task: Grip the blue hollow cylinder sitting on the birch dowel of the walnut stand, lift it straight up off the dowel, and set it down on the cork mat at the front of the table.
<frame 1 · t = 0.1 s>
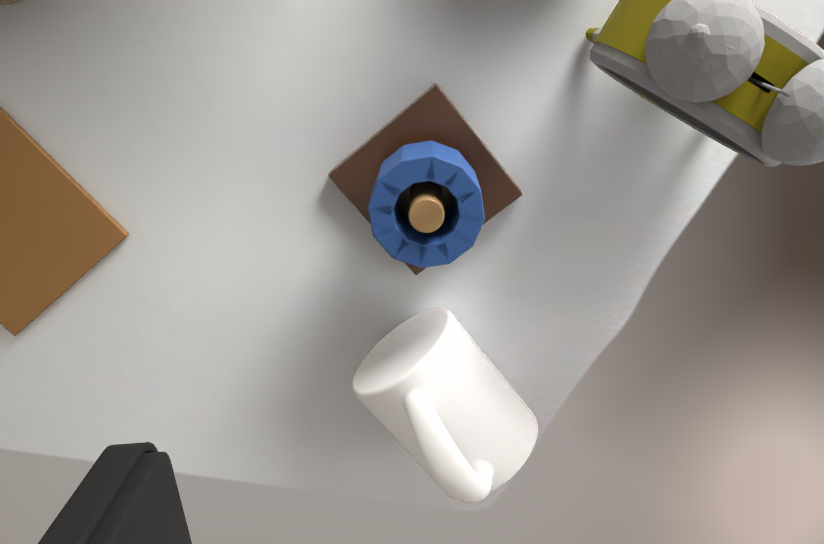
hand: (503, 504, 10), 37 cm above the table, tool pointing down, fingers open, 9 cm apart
blue hollow cylinder: (425, 193, 43), point 3 cm above the table, touching dowel stand
mug: (443, 371, 51), on the table
alarm clock: (669, 46, 43), on the table
dowel stand: (425, 181, 46), on the table
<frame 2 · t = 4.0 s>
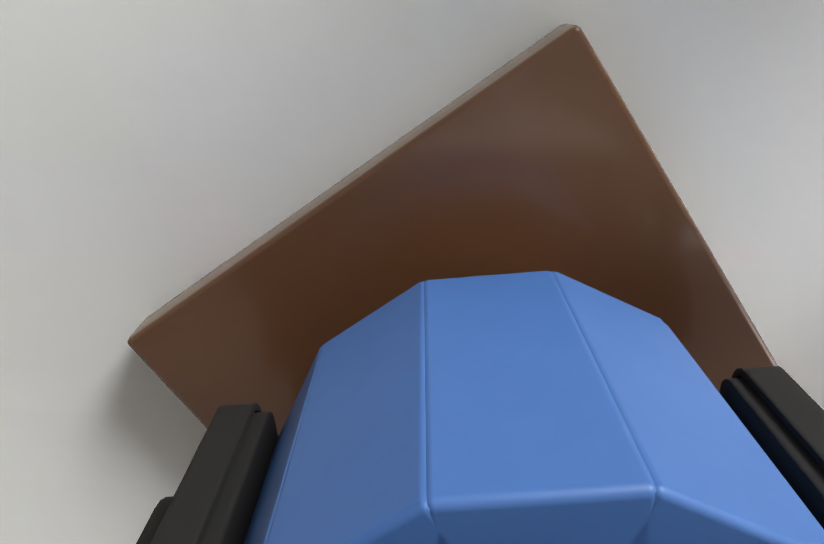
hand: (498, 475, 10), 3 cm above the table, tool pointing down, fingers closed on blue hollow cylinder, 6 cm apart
blue hollow cylinder: (497, 471, 10), point 3 cm above the table, touching dowel stand, gripper
dowel stand: (481, 372, 13), on the table
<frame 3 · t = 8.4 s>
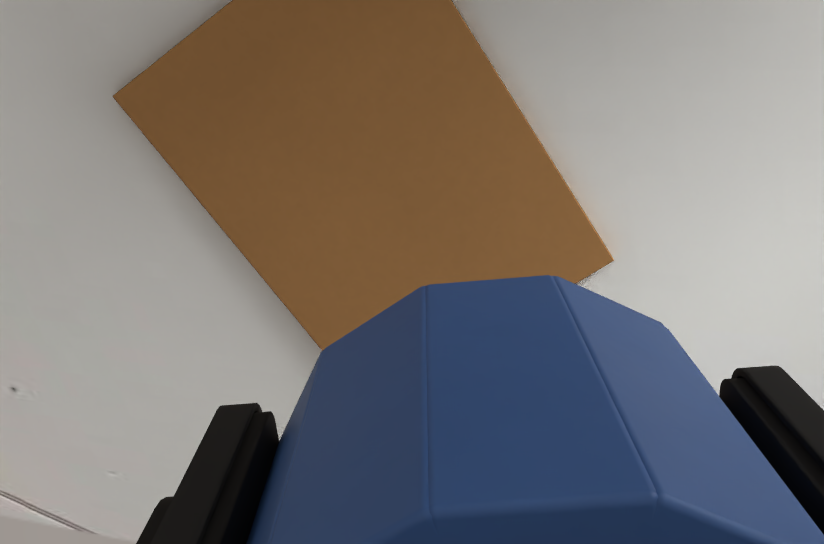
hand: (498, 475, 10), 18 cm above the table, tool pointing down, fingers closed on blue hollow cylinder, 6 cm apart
blue hollow cylinder: (498, 474, 10), point 18 cm above the table, touching gripper
mat: (373, 179, 27), on the table
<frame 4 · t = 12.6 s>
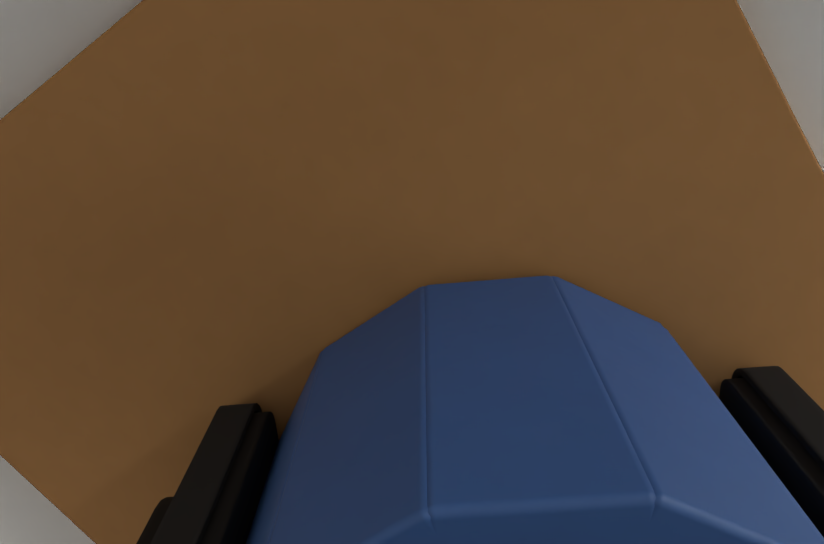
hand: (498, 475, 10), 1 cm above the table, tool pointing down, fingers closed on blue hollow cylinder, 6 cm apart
blue hollow cylinder: (498, 475, 10), point 1 cm above the table, touching gripper
mat: (488, 454, 11), on the table
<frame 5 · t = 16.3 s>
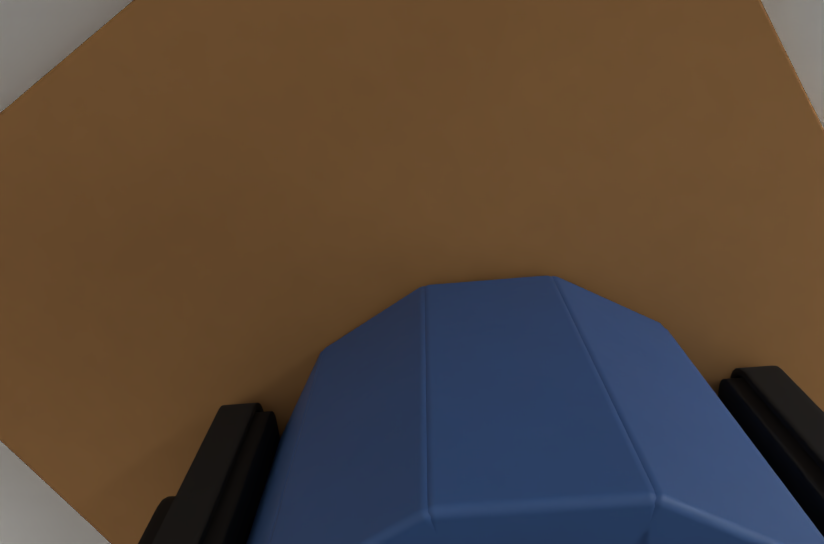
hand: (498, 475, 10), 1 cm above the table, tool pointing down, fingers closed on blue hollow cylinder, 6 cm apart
blue hollow cylinder: (498, 475, 10), point 1 cm above the table, touching gripper
mat: (497, 447, 11), on the table
when the fingers open (1 cm above the table, at t = 19.9 s): blue hollow cylinder stays where it is, resting on mat.
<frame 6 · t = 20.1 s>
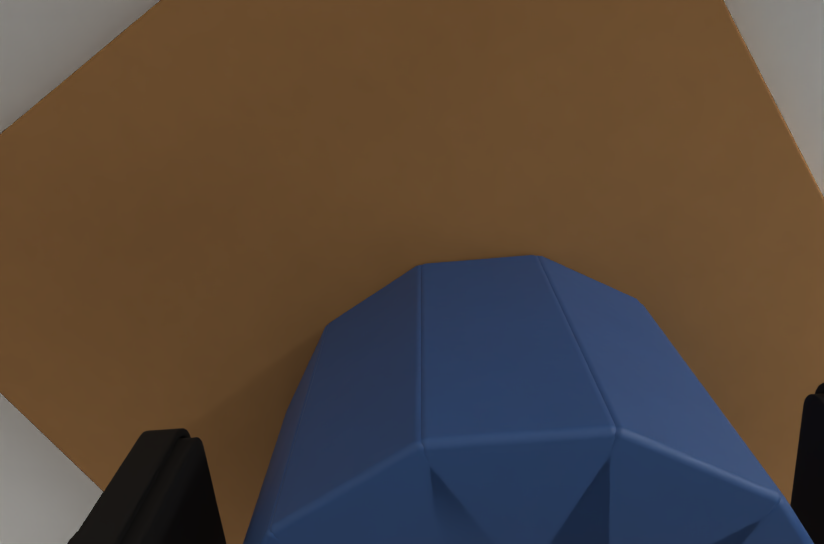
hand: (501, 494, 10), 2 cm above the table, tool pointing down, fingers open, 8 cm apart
blue hollow cylinder: (489, 441, 11), resting on mat
mat: (489, 422, 12), on the table
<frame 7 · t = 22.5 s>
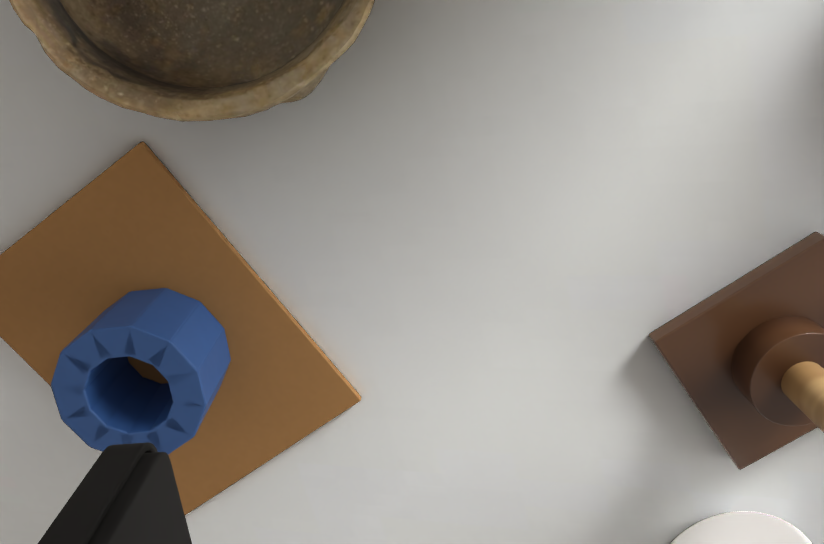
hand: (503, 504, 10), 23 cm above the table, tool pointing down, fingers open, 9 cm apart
blue hollow cylinder: (163, 349, 34), resting on mat
mat: (166, 344, 34), on the table
dowel stand: (771, 352, 35), on the table
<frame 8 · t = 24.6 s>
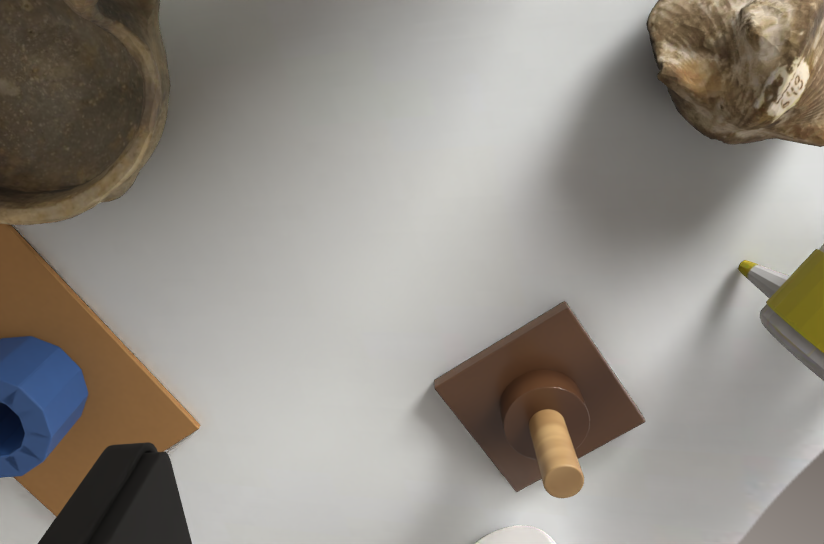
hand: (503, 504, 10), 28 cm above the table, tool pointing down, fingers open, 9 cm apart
blue hollow cylinder: (32, 384, 41), resting on mat
fossilized seashell: (731, 58, 35), on the table
bowl: (87, 45, 35), on the table
mat: (36, 380, 42), on the table
dowel stand: (538, 396, 42), on the table
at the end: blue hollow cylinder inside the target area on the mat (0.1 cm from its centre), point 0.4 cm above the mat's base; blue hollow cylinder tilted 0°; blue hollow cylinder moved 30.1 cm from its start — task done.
